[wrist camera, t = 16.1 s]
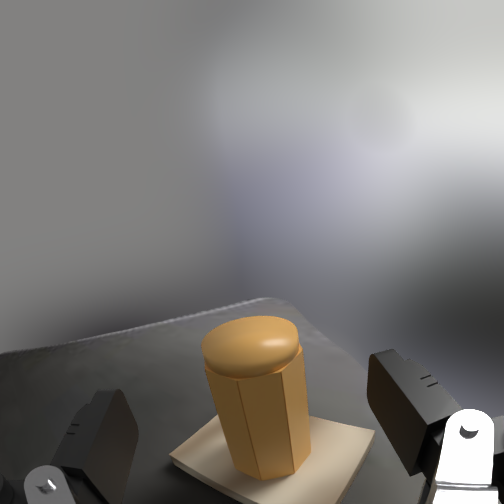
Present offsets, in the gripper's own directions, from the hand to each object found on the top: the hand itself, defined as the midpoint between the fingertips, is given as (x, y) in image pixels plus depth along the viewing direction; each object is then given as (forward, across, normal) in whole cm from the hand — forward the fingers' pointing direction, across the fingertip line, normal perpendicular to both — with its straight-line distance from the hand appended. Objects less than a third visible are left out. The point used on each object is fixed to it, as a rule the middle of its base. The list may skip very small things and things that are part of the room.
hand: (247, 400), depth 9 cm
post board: (+10, -1, +16) cm, 18 cm away
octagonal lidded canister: (+10, 0, +14) cm, 17 cm away
